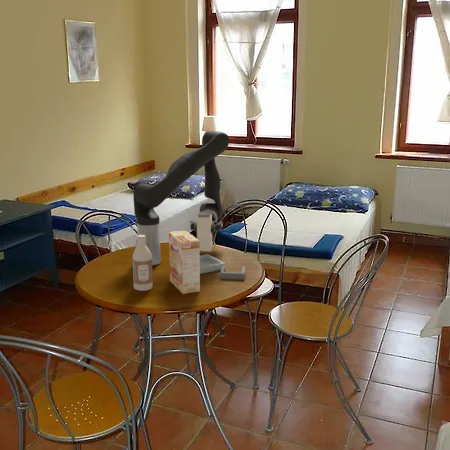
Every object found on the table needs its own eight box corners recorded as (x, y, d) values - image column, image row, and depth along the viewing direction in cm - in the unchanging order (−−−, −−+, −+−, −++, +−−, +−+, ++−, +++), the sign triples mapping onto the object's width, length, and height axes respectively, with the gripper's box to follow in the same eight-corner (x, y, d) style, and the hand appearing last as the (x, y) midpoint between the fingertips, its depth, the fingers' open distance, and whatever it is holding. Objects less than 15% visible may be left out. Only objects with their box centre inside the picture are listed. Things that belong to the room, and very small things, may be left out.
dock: (244, 279, 211) (244, 273, 210) (220, 279, 212) (220, 272, 211) (244, 272, 219) (244, 266, 219) (222, 271, 220) (222, 265, 219)
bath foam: (134, 292, 198) (132, 238, 193) (133, 285, 204) (131, 233, 199) (153, 290, 199) (152, 237, 194) (151, 284, 206) (150, 232, 201)
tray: (194, 275, 215) (194, 268, 215) (178, 265, 227) (178, 259, 226) (225, 269, 223) (225, 263, 222) (208, 260, 234) (208, 254, 233)
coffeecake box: (169, 280, 209) (168, 231, 204) (186, 278, 212) (186, 229, 207) (182, 294, 196) (181, 242, 191) (200, 291, 199) (200, 240, 194)
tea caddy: (210, 251, 220) (210, 215, 216) (197, 251, 220) (196, 214, 216) (212, 246, 226) (211, 211, 222) (198, 246, 226) (198, 211, 222)
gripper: (191, 211, 234) (185, 221, 218) (224, 211, 233) (221, 221, 217) (191, 227, 236) (186, 239, 220) (224, 228, 235) (221, 239, 219)
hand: (204, 230), depth 218 cm, fingers closed on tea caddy, 5 cm apart
